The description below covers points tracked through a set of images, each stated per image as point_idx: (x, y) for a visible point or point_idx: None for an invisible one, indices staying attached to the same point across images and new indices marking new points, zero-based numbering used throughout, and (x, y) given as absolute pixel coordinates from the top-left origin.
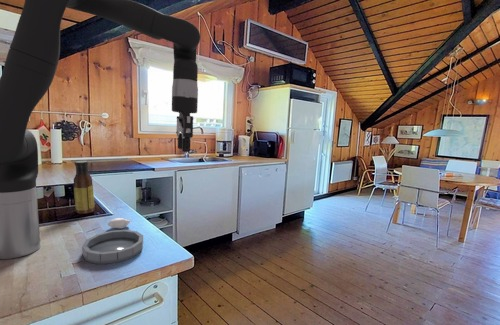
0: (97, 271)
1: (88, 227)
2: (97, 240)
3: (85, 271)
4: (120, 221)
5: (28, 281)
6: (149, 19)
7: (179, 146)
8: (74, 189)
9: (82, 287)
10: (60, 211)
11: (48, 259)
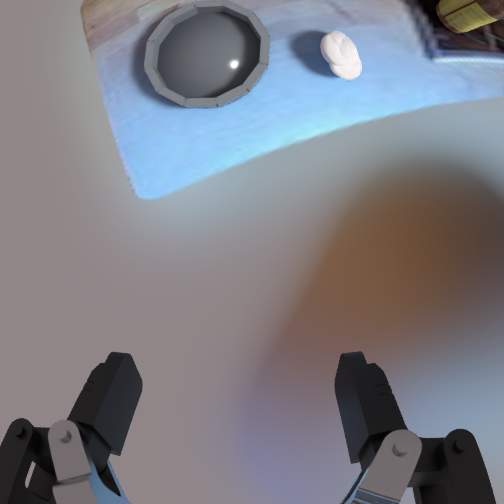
0: (133, 49)
1: (356, 5)
2: (242, 17)
3: (140, 32)
4: (323, 52)
5: None
6: None
7: (344, 371)
8: None
9: (98, 47)
10: None
11: None
